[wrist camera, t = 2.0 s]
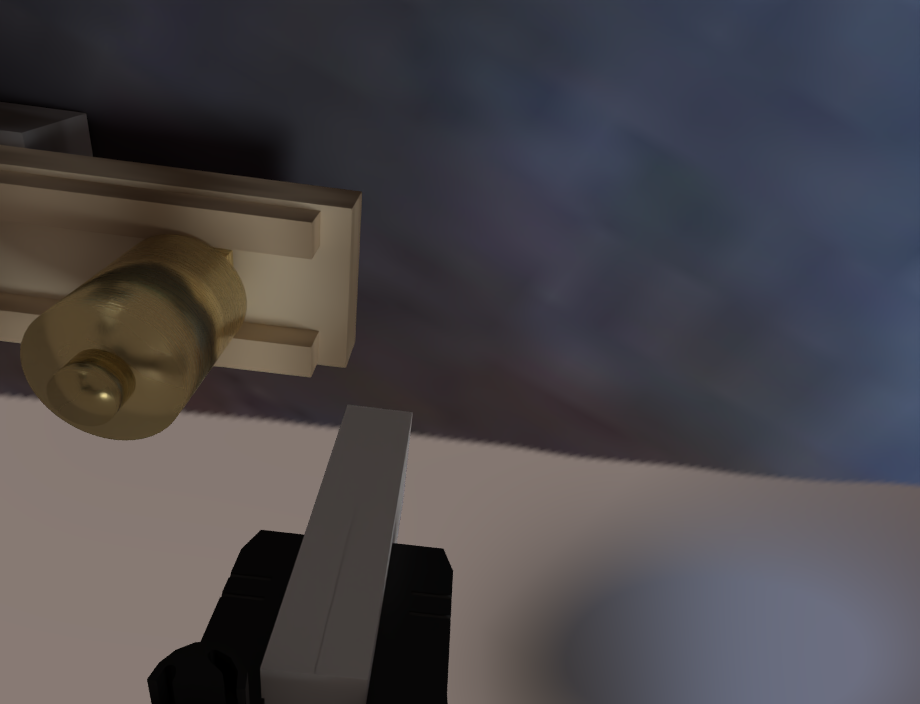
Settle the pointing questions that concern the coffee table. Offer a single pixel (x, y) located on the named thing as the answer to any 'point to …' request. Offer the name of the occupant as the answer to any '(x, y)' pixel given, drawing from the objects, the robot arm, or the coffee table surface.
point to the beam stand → (184, 213)
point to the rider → (136, 337)
